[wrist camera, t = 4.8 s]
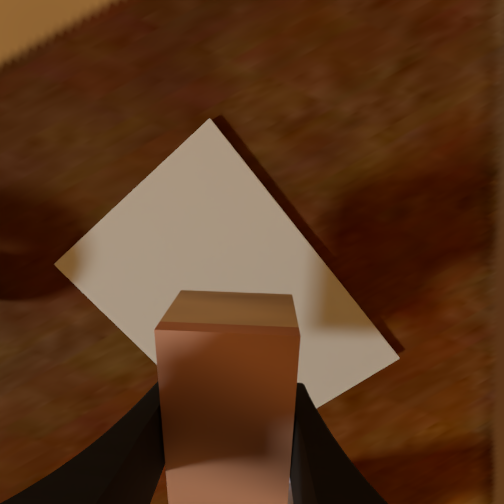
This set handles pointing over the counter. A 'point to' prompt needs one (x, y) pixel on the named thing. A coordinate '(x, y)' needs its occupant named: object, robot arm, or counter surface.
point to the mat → (221, 261)
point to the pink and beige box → (228, 396)
